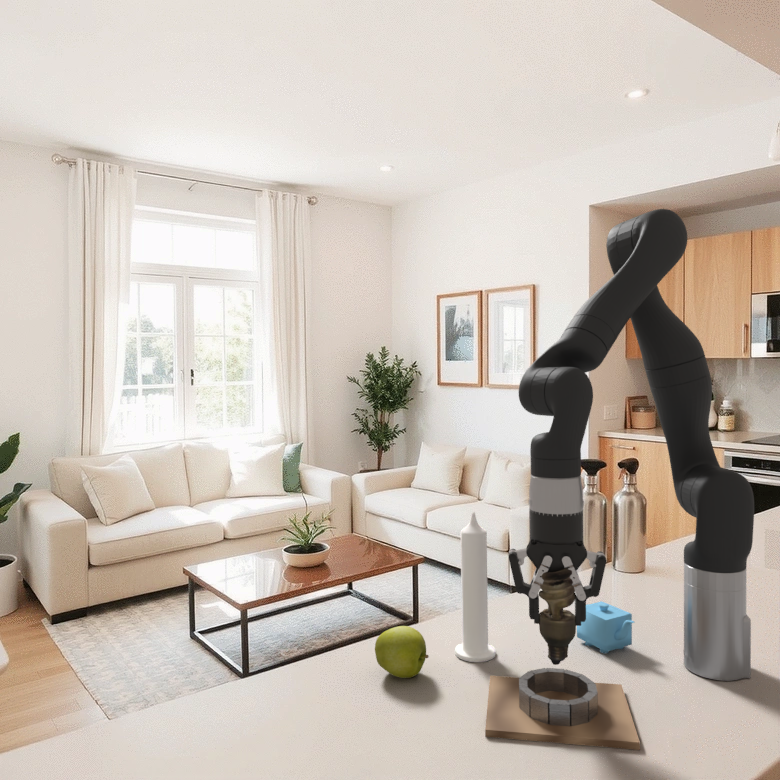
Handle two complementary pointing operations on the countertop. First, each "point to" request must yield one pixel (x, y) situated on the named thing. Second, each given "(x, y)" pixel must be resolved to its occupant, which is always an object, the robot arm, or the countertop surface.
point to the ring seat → (558, 709)
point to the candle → (474, 595)
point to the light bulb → (557, 613)
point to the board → (602, 730)
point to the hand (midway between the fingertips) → (557, 622)
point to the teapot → (606, 627)
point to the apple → (401, 651)
